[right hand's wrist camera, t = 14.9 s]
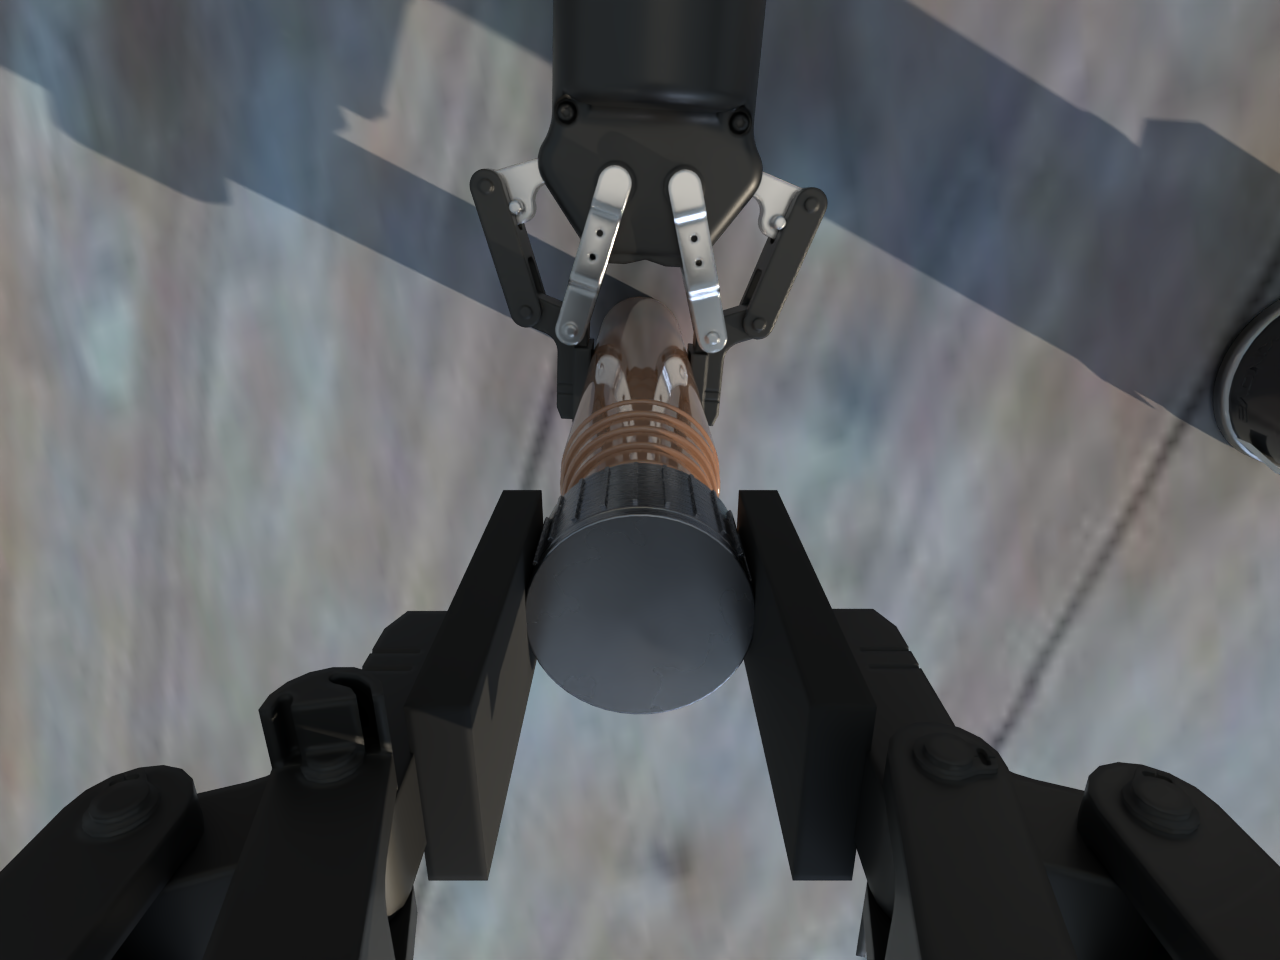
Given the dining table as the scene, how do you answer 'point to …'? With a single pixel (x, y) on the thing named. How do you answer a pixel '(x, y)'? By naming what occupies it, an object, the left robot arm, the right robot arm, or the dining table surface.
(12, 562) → the dining table surface
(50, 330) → the dining table surface
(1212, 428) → the dining table surface
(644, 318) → the ringed wooden cylinder
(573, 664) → the cap
